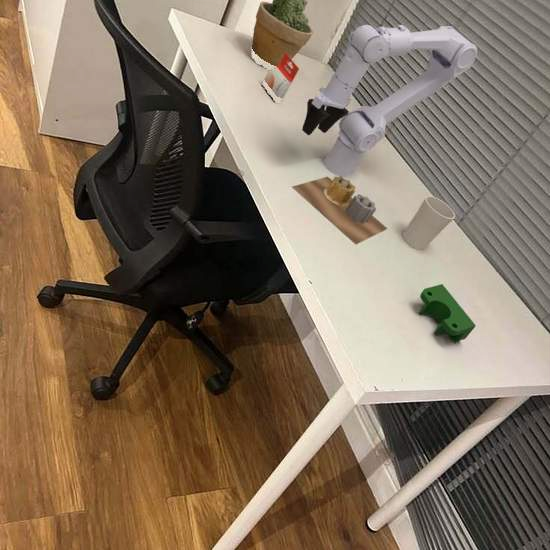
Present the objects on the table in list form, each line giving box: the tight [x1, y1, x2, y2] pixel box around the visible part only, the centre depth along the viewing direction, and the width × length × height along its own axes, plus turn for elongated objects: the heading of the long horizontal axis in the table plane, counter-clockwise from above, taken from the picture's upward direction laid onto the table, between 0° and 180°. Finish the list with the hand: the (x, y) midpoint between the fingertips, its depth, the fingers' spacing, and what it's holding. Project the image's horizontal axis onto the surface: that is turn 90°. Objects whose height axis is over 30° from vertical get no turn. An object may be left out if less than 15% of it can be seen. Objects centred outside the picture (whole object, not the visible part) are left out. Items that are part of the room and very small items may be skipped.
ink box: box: [263, 53, 300, 99], centre depth 159 cm, size 3×9×12 cm, turn 29°
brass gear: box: [326, 176, 356, 205], centre depth 130 cm, size 6×6×4 cm
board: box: [291, 176, 388, 245], centre depth 127 cm, size 16×20×6 cm
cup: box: [401, 195, 456, 252], centre depth 130 cm, size 8×8×12 cm
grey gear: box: [346, 193, 377, 224], centre depth 128 cm, size 6×6×4 cm
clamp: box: [418, 283, 476, 343], centre depth 112 cm, size 12×6×9 cm, turn 23°
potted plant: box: [251, 0, 314, 66], centre depth 173 cm, size 18×19×25 cm
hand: (313, 131), depth 130 cm, fingers open, 7 cm apart
